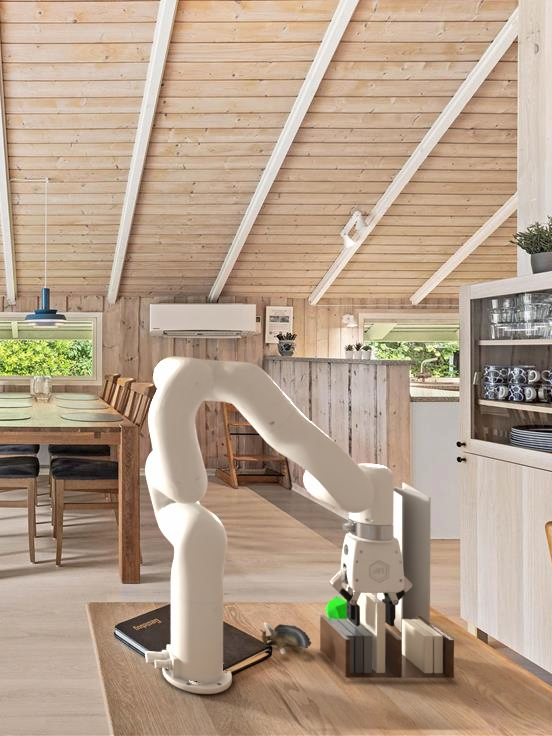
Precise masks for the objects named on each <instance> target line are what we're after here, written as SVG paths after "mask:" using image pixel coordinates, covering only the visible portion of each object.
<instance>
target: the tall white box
mask: <svg viewBox="0 0 552 736" xmlns="http://www.w3.org/2000/svg"><path fill="white" fill-rule="evenodd" d="M431 503H432V502H431V497H430V496H428V495H427V494H425V493H423V492H421V491H420V490H418V489H416V488H415V487H412V486H411V485H409V484H408V483H406V482H402V485H401V487H399V486H396V485H394V537H395V538H397V539H398V541H399V545H400V549H401V555H402V561H403V571H404V576H405V577H406V578H407V579H408V580H409V581H410V582H411V583H412V585H413V586H412V587H411V588H410V589H409V590H408V591H407V592H405V595H404V596H403V597H402V598H401V599H400V600H399V604H398V605H396V618H395V620H394V627H396V628H397V629H398V631H399V632H400V634H402V619H410V620H412V619H416V616H421V617H422V618H424V619H425V620H426V621H428V622H429V623H431V506H432V505H431ZM377 598H378V599H379V600H381V601H382V599H384V598H385V597H384V595H383V593H377Z"/></svg>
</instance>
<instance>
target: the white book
mask: <svg viewBox="0 0 552 736" xmlns="http://www.w3.org/2000/svg"><path fill="white" fill-rule="evenodd" d="M357 604H358V605H359V606H360V626H361V627H363V628H364V629H365V630H366V631H367V632H368V633H370V634H371V635H372V669H373V670H374V671H375V672H376V673H385V627H386V622H385V603H383V602H382V601H381V600H379V599H378V596H376V595H374V593H361V594H360V596H359V599H358V602H357Z"/></svg>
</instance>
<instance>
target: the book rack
mask: <svg viewBox="0 0 552 736" xmlns="http://www.w3.org/2000/svg"><path fill="white" fill-rule="evenodd" d="M416 619H420V620H421V621H423V622H424V623H425V624H427V625H428V626H430V627H431V628H432V629H434V630H435V631H437V632H438V633H439V634H441V635H442V636H443V673H434V672H433V673H424V672H422V671H421V670H420V669H419V668H418V667H417V666H415V665H414V664H413V663H412V662H411V661H409V660H408V659H407V658H406V657H405V656H404V655H402V638H400V637H399V636H398V635H397V634H395V633H394V632H393V630H390V629H389V628H388V627H387V626H385V673H376V672H375V671H374V670H373V669H372V673H364V672H363V673H355V672H354V673H350V639H349V638H348V637H347V636H346V635H344V634H343V633H342V632H341V631H340V630H339V629H338V628H337V627H336V626H335V625H334V624H333V623H332V622H331V621H330V620H328V617H326V615H324V614H323V615H320V616H319V651H320V652H321V653H322V654H323V656H324V657H326V658H327V660H328V661H329V662H330V663H332V665H333V666H334V667H335V668H336V669H337V671H339V672H340V673H341V674H342V675H343V677H344V678H346V679H347V678H349V679H351V678H352V679H353V678H354V679H356V678H357V679H362V678H363V679H373V678H374V679H454V678H455V640H454V639H453V638H452V637H451V636H449V635H448V634H446V633H445V632H443V631H442V630H441V629H440V628H438V627H437V626H436V625H434V624H432V623H431V622H430V623H429V622H428V621H426V620H425V619H424V618H422V617H421V616H416Z"/></svg>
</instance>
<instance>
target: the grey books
mask: <svg viewBox="0 0 552 736" xmlns="http://www.w3.org/2000/svg"><path fill="white" fill-rule="evenodd" d="M327 619H328V618H327ZM328 620H330V621H331V622H332V623H333V624H334V625H335V626H336V627H337V628H338V629H339V630H340V631H341V632H342V633H343V634H344V635H346V636H347V637H348V638H349V639H350V673H354V672H355V673H363V672H364V673H372V635H371V634H370V633H368V632H367V631H366V630H365V629H364V628H363V627H361V626H360V625H359V626H355V625H354V624H353V623H352V622H350V621H349V619H337V620H336V619H328Z"/></svg>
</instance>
